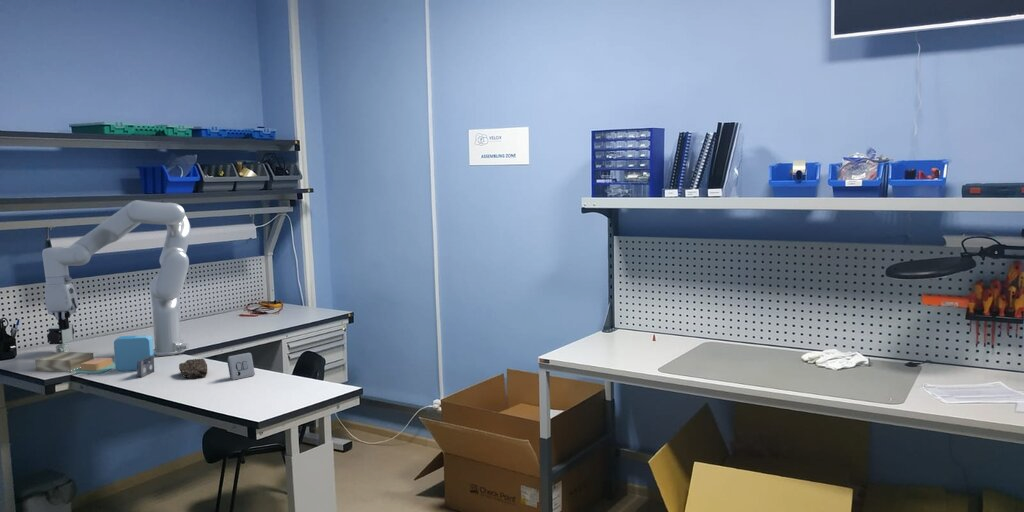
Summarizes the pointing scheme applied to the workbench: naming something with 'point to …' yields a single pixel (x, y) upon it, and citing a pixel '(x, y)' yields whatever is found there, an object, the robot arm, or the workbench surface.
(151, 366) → the mini dv tape
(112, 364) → the mat
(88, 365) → the orange sponge
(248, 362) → the electrical switch
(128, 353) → the data package
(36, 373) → the workbench surface
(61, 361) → the deck
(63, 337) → the pneumatic valve
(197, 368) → the brown rock
